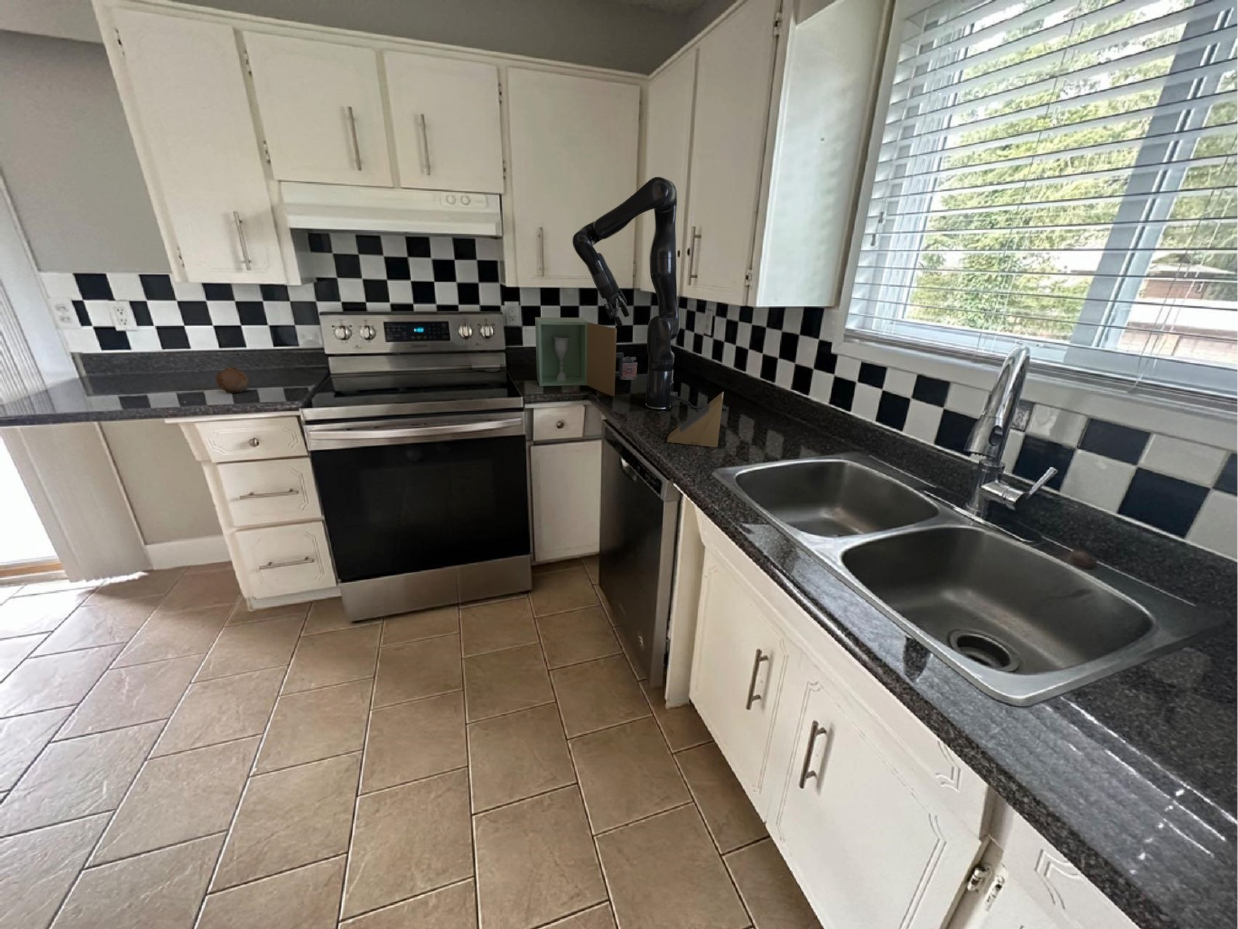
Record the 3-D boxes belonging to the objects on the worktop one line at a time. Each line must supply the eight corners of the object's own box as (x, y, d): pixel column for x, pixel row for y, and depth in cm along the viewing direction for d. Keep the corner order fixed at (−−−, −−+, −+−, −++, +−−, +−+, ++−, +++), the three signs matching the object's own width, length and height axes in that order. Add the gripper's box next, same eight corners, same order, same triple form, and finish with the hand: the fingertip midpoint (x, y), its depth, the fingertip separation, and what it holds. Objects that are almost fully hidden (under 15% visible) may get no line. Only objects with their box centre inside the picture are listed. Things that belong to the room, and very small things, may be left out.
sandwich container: (669, 433, 159) (673, 386, 153) (718, 438, 156) (723, 391, 151) (666, 442, 151) (669, 393, 146) (717, 447, 148) (723, 398, 143)
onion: (237, 397, 190) (234, 371, 190) (256, 392, 187) (253, 366, 188) (211, 394, 181) (207, 366, 181) (230, 389, 178) (227, 361, 179)
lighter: (620, 380, 226) (621, 357, 222) (618, 378, 229) (619, 356, 225) (637, 379, 228) (638, 357, 224) (635, 377, 231) (636, 356, 227)
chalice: (571, 377, 221) (571, 336, 214) (568, 381, 214) (568, 338, 208) (555, 377, 221) (554, 335, 214) (551, 380, 215) (550, 337, 208)
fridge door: (599, 383, 217) (600, 321, 207) (625, 394, 201) (628, 328, 191) (586, 385, 214) (587, 322, 204) (612, 396, 198) (614, 328, 188)
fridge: (587, 385, 214) (588, 321, 204) (539, 386, 210) (537, 321, 200) (582, 377, 227) (582, 317, 217) (536, 378, 222) (535, 317, 212)
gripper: (607, 286, 180) (626, 326, 188) (619, 271, 190) (637, 310, 198) (590, 293, 184) (609, 332, 192) (603, 278, 194) (621, 315, 202)
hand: (623, 320), depth 195 cm, fingers open, 8 cm apart
